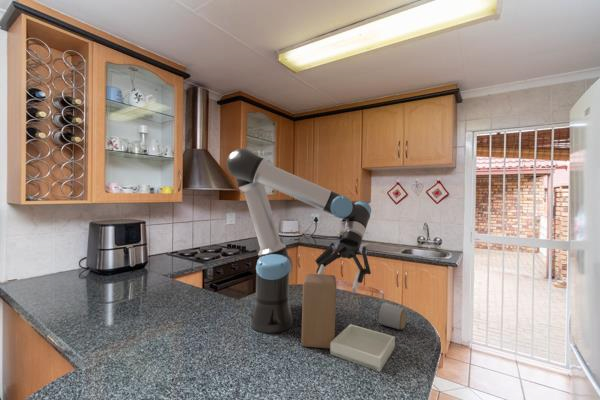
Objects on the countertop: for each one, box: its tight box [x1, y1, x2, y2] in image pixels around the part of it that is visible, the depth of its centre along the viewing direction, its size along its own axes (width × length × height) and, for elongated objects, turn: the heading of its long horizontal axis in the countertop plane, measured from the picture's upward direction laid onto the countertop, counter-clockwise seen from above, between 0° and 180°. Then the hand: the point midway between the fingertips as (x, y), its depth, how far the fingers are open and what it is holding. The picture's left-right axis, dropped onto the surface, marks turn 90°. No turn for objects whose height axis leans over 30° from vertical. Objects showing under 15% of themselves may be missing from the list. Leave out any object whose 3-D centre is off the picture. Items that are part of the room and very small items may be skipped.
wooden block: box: [300, 273, 337, 350], centre depth 91 cm, size 10×10×20 cm
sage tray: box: [329, 323, 396, 372], centre depth 86 cm, size 15×15×4 cm
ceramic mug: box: [378, 302, 408, 330], centre depth 104 cm, size 11×8×8 cm
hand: (334, 286), depth 96 cm, fingers open, 13 cm apart
